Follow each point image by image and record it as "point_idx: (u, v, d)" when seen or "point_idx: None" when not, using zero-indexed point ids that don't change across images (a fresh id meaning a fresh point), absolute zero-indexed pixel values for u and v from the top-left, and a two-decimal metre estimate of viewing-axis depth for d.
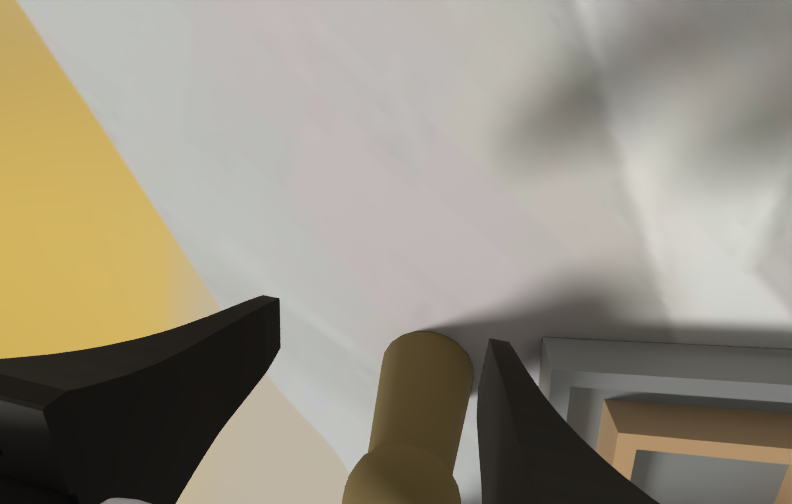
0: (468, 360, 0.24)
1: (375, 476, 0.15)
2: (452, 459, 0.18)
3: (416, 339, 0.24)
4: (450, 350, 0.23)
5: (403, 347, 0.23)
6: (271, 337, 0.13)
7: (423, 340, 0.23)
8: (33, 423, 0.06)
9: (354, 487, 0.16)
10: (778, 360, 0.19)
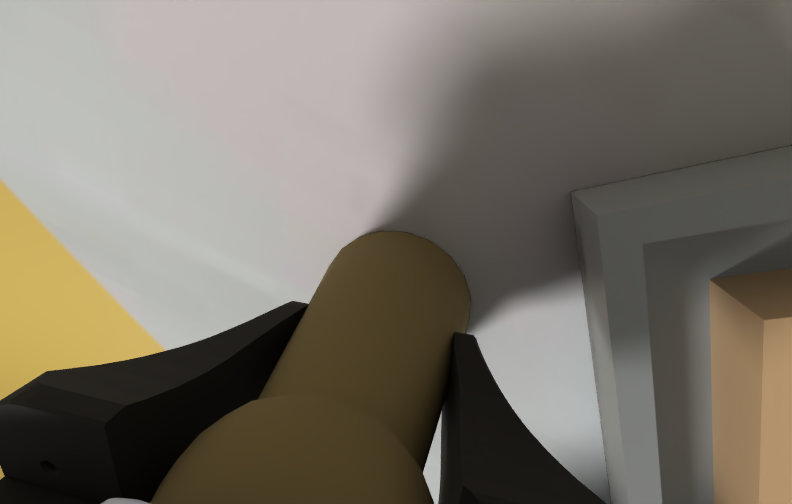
0: (453, 265, 0.14)
1: (181, 473, 0.06)
2: (417, 419, 0.08)
3: (359, 244, 0.14)
4: (416, 249, 0.13)
5: (338, 260, 0.14)
6: None
7: (369, 242, 0.14)
8: (93, 439, 0.06)
9: None
10: None
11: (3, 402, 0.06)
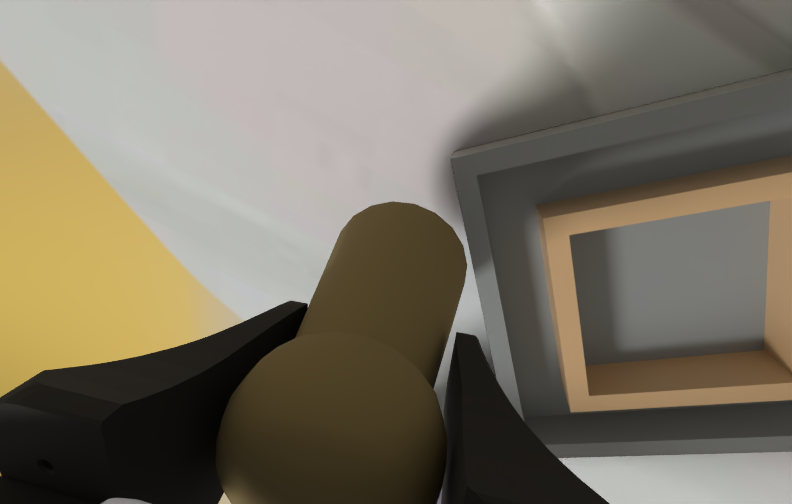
0: (454, 235, 0.16)
1: (257, 383, 0.08)
2: (428, 357, 0.10)
3: (371, 213, 0.16)
4: (423, 219, 0.15)
5: (352, 226, 0.15)
6: None
7: (381, 211, 0.15)
8: (88, 438, 0.06)
9: (225, 413, 0.08)
10: (713, 90, 0.16)
11: None
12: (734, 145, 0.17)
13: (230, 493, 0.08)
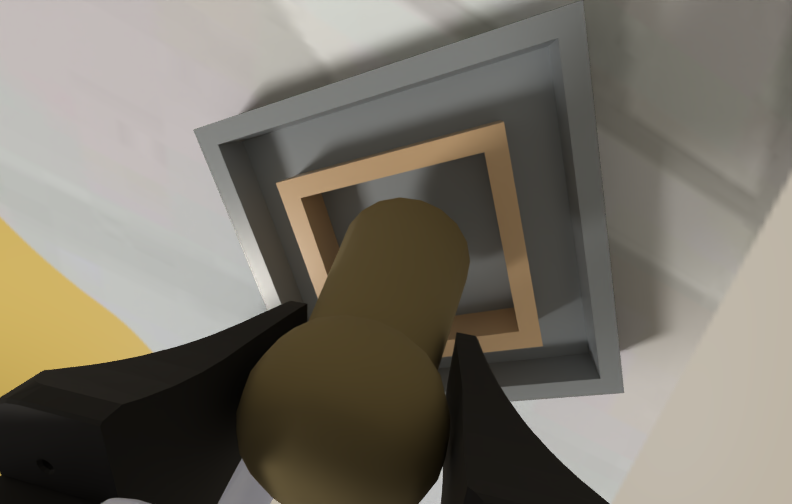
0: (459, 232, 0.17)
1: (278, 359, 0.08)
2: (433, 343, 0.11)
3: (379, 207, 0.16)
4: (429, 215, 0.16)
5: (361, 219, 0.16)
6: None
7: (389, 206, 0.16)
8: (89, 438, 0.06)
9: (246, 386, 0.09)
10: None
11: None
12: (446, 113, 0.19)
13: (249, 459, 0.09)
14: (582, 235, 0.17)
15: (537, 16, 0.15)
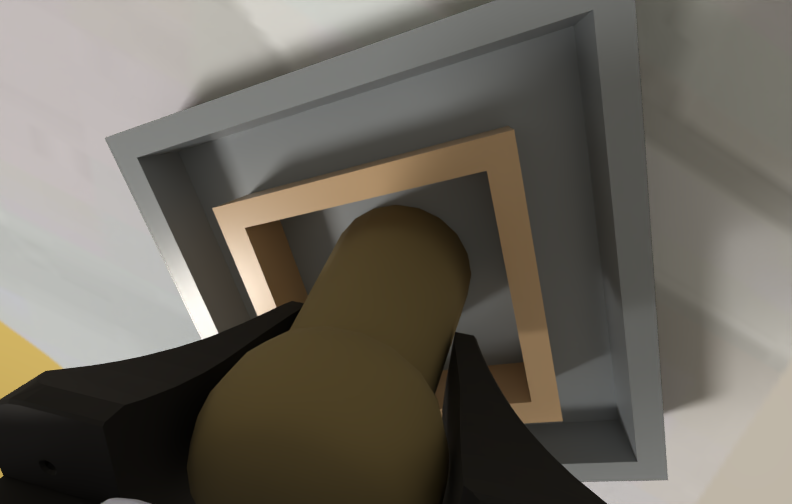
0: (459, 242, 0.15)
1: (240, 377, 0.07)
2: (430, 363, 0.10)
3: (373, 215, 0.15)
4: (427, 223, 0.15)
5: (353, 227, 0.15)
6: None
7: (384, 213, 0.15)
8: (91, 438, 0.06)
9: (202, 409, 0.07)
10: None
11: (1, 401, 0.06)
12: (436, 117, 0.14)
13: (200, 502, 0.07)
14: (619, 282, 0.13)
15: None
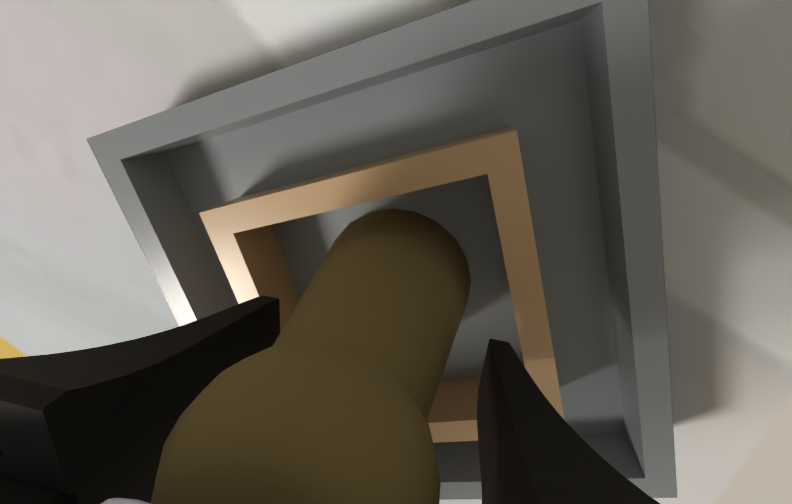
0: (458, 248, 0.15)
1: (209, 402, 0.06)
2: (422, 381, 0.09)
3: (368, 219, 0.14)
4: (424, 228, 0.14)
5: (347, 232, 0.14)
6: (271, 337, 0.13)
7: (379, 218, 0.14)
8: (33, 423, 0.06)
9: (168, 436, 0.07)
10: None
11: None
12: (434, 117, 0.13)
13: None
14: (627, 291, 0.12)
15: None
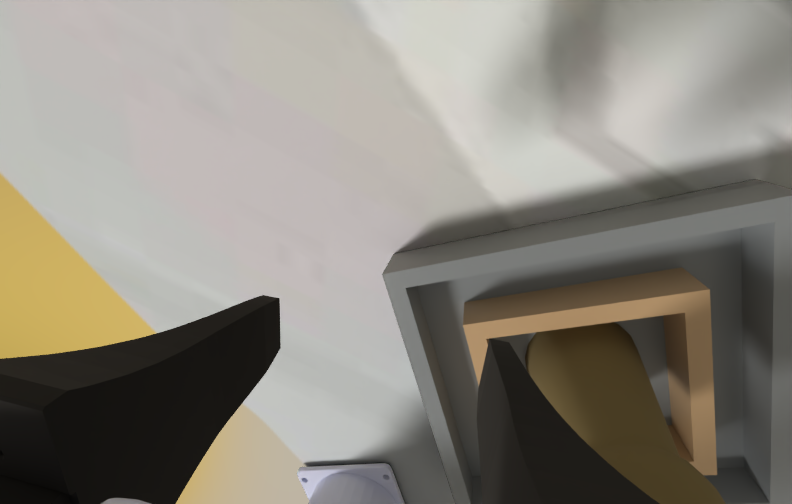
0: None
1: None
2: (679, 457, 0.15)
3: None
4: (616, 332, 0.20)
5: (559, 334, 0.20)
6: (271, 337, 0.13)
7: None
8: (33, 423, 0.06)
9: None
10: (602, 217, 0.19)
11: None
12: (626, 259, 0.20)
13: None
14: (770, 382, 0.18)
15: (756, 203, 0.16)
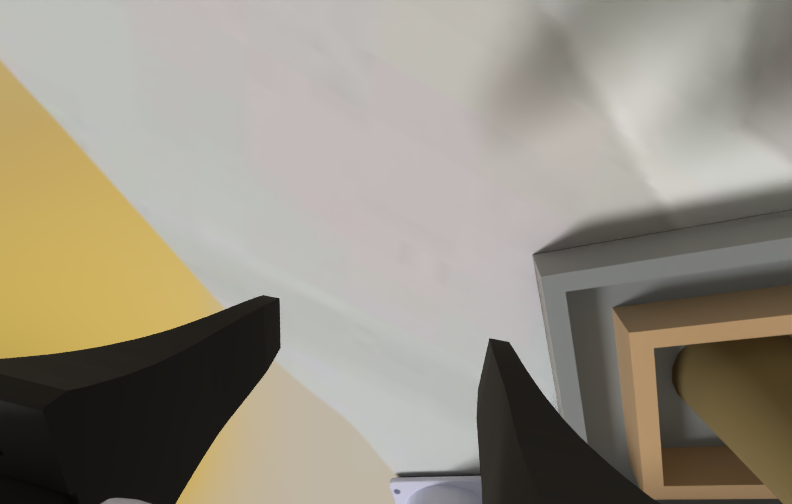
0: None
1: None
2: None
3: None
4: None
5: (727, 344, 0.19)
6: (271, 337, 0.13)
7: None
8: (33, 423, 0.06)
9: None
10: None
11: None
12: None
13: None
14: None
15: None
